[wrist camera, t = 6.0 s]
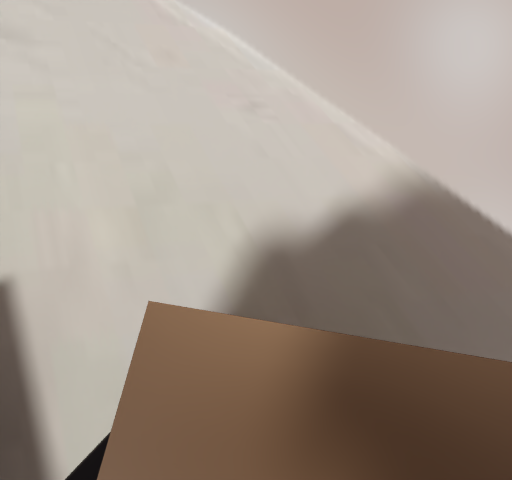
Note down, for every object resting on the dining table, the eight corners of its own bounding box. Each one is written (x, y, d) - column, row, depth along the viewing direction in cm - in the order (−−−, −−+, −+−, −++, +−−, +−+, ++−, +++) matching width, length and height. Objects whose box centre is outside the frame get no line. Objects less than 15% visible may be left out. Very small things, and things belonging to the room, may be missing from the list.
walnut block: (301, 513, 13) (757, 1284, 2) (164, 496, 13) (-144, 1313, 2) (311, 366, 15) (547, 368, 5) (196, 347, 15) (148, 301, 4)
